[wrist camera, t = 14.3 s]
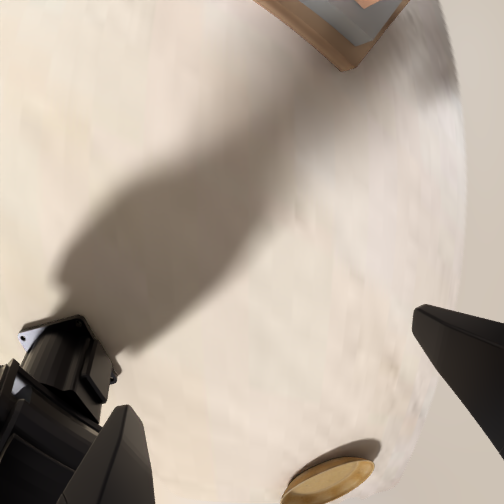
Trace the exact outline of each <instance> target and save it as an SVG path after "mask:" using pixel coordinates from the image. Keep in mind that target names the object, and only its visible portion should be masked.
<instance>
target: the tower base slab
mask: <svg viewBox="0 0 504 504" xmlns="http://www.w3.org/2000/svg"><path fill="white" fill-rule="evenodd" d="M253 1H255V2H256V3H257V4H259V5H260V6H262V7H263V8H265V9H266V10H267V11H269V12H270V13H272V14H273V15H274V16H276V17H277V18H278V19H280V20H281V21H282V22H284V23H285V24H286V25H287V26H289V27H290V28H291V29H293V30H294V31H295V32H296V33H298V34H299V35H300V36H301V37H302V38H304V39H305V40H306V41H307V42H308V43H310V44H311V45H312V46H313V47H314V48H316V49H317V50H318V51H319V52H320V53H321V54H322V55H324V56H325V57H326V58H327V59H328V60H329V61H330V62H331V63H332V64H333V65H335V66H336V67H337V68H338V69H339V70H340V71H341V72H343V71H347V70H350V69H354V68H356V67H357V66H358V64H359V63H360V62H361V61H362V59H363V58H364V57H365V56H366V54H367V53H368V52H369V51H370V49H371V48H372V47H373V45H374V44H375V43H376V42H377V40H378V39H379V38H380V37H381V35H382V34H383V33H384V32H385V30H386V29H387V28H388V27H389V26H390V24H391V23H392V22H393V21H394V19H395V18H396V17H397V16H398V14H399V13H400V12H401V11H402V10H403V8H404V7H405V6H406V5H407V3H408V2H409V1H410V0H402V2H401V3H400V4H399V6H398V7H397V8H396V10H395V11H394V12H393V14H392V15H391V16H390V18H389V19H388V21H387V22H386V23H385V25H384V26H383V27H382V29H381V30H380V31H379V33H378V34H377V35H376V37H375V38H374V40H372V41H370V42H367V43H364V44H361V45H359V46H356V47H355V46H354V45H353V44H352V43H351V42H350V41H349V40H347V39H346V38H345V37H344V36H343V35H342V34H341V33H339V32H338V31H337V30H336V29H335V28H334V27H332V26H331V25H330V24H329V23H327V22H326V21H325V20H324V19H323V18H321V17H320V16H319V15H317V14H316V13H315V12H314V11H312V10H311V9H310V8H308V7H307V6H306V5H304V4H303V3H302V2H300V1H299V0H253Z"/></svg>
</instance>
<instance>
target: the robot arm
mask: <svg viewBox="0 0 504 504" xmlns="http://www.w3.org/2000/svg"><path fill="white" fill-rule="evenodd" d="M77 321H80V322H81V324H79V323H77ZM412 332H413V335H414V336H415V338H416V339H417V341H418V342H419V344H420V345H421V347H422V348H423V350H424V352H425V353H426V355H427V356H428V358H429V359H430V361H431V362H432V364H433V365H434V367H435V368H436V370H437V371H438V372H439V374H440V375H441V376H442V377H443V379H444V380H445V381H446V382H447V384H448V385H449V386H450V387H451V388H452V390H453V391H454V392H455V394H456V395H457V396H458V398H459V399H460V400H461V402H462V403H463V404H464V405H465V407H466V408H467V409H468V411H469V412H470V413H471V415H472V416H473V417H474V419H475V420H476V421H477V423H478V424H479V425H480V427H481V428H482V430H483V431H484V432H485V434H486V435H487V436H488V438H489V439H490V441H491V442H492V443H493V445H494V446H495V448H496V449H497V450H498V452H499V454H500V455H501V456H502V458H503V459H504V323H500V322H496V321H492V320H488V319H484V318H479V317H476V316H472V315H468V314H464V313H460V312H456V311H452V310H448V309H444V308H440V307H436V306H432V305H428V304H423V305H421V306H419V307H417V308H416V309H415V310H414V313H413V322H412ZM23 336H24V337H25V338H24V337H23ZM18 339H19V341H20V342H21V344H22V346H23V347H24V349H25V351H26V352H27V353H26V355H25V357H24V359H23V361H22V363H21V365H20V364H19V363H18V362H17V361H16V360H15V359H14V358H13V359H12V360H11V361H10V362H9V363H8V364H6V365H2V366H1V365H0V504H155V497H154V488H153V477H152V469H151V463H150V459H149V453H148V448H147V443H146V437H145V431H144V426H143V423H142V421H141V420H140V418H139V417H138V416H137V414H136V413H135V411H134V410H133V409H132V407H131V406H130V405H122V406H117V407H116V408H115V409H114V410H113V412H112V413H111V415H110V417H109V418H108V420H107V421H106V423H105V424H104V426H103V427H101V426H100V425H98V424H99V421H100V413H101V406H102V404H104V403H106V401H107V398H108V391H109V385H110V384H114V383H116V382H117V374H116V373H115V371H114V370H113V368H112V363H111V361H110V359H109V358H108V356H107V354H106V352H105V351H104V349H103V347H102V345H101V344H100V342H99V340H97V339H96V338H95V337H94V335H93V333H92V331H91V329H90V327H89V326H88V324H87V322H86V320H85V318H84V317H83V316H81V315H75V316H72V317H68V318H65V319H61V320H57V321H54V322H50V323H47V324H43V325H39V326H36V327H32V328H28V329H24V330H21V331H20V332H19V334H18ZM19 365H20V366H19ZM111 377H112V378H111Z"/></svg>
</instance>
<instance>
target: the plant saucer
mask: <svg viewBox="0 0 504 504" xmlns="http://www.w3.org/2000/svg"><path fill="white" fill-rule="evenodd" d="M374 467H375V465H374V463H373V462H372V461H370V460H366V459H362V458H357V457H340V458H336V459H332V460H329V461H326V462H323V463H321V464H318V465H316V466H314V467H312V468H310V469H308V470H306V471H305V472H303V473H301V474H300V475H299V476H297V477H296V478H295V479H294V480H293V481H292V482H291V483H290V484H289V486H288V487H287V489H286V490H285V492H284V494H283V496H282V498H281V501H280V504H325V503H328V502H330V501H333V500H335V499H337V498H339V497H341V496H343V495H345V494H347V493H349V492H350V491H352V490H353V489H355V488H356V487H358V486H359V485H360V484H361V483H363V482H364V481H365V480H366V479H367V478H368V477H369V476H370V475H371V473H372V472H373V470H374Z"/></svg>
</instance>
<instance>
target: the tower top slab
mask: <svg viewBox="0 0 504 504" xmlns="http://www.w3.org/2000/svg"><path fill="white" fill-rule="evenodd" d="M299 1H300V2H302V3H303V4H304V5H306V6H307V7H308V8H310V9H311V10H312V11H314V12H315V13H316V14H317V15H319V16H320V17H321V18H323V19H324V20H325V21H326V22H327V23H329V24H330V25H331V26H332V27H334V28H335V29H336V30H337V31H338V32H339V33H341V34H342V35H343V36H344V37H345V38H346V39H347V40H349V41H350V42H351V43H352V44H353V45H354V46H355V47H356V46H359V45H361V44H364V43H367V42H370V41H372V40H374V38H375V37H376V35H377V34H378V33H379V31H380V30H381V29H382V27H383V26H384V25H385V23H386V22H387V21H388V19H389V18H390V16H391V15H392V14H393V12H394V11H395V10H396V8H397V7H398V6H399V4H400V3H401V2H402V0H380V1H378V2H376V3H374V4H373V5H371V6H369V7H367V8H365V9H363V8H362V7H361V6H360V5H359V4H358V3H357V2H356V1H355V0H299Z"/></svg>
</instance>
